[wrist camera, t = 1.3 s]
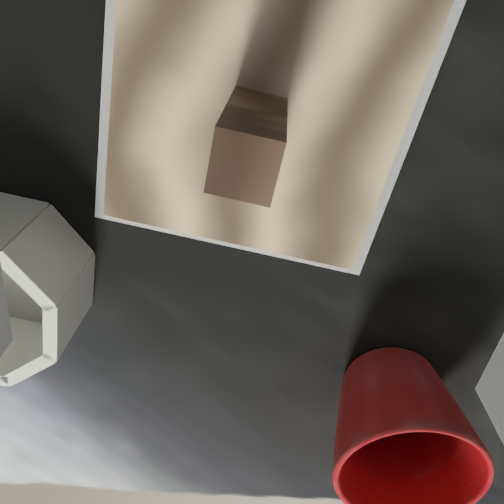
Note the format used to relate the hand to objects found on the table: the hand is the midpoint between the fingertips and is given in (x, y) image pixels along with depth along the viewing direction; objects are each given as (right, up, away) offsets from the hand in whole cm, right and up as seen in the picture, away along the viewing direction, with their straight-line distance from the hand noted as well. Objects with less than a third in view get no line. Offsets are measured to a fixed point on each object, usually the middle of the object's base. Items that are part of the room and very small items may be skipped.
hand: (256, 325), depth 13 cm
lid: (0, +11, +18) cm, 21 cm away
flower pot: (+12, -9, +29) cm, 33 cm away
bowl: (-19, +1, +26) cm, 32 cm away
